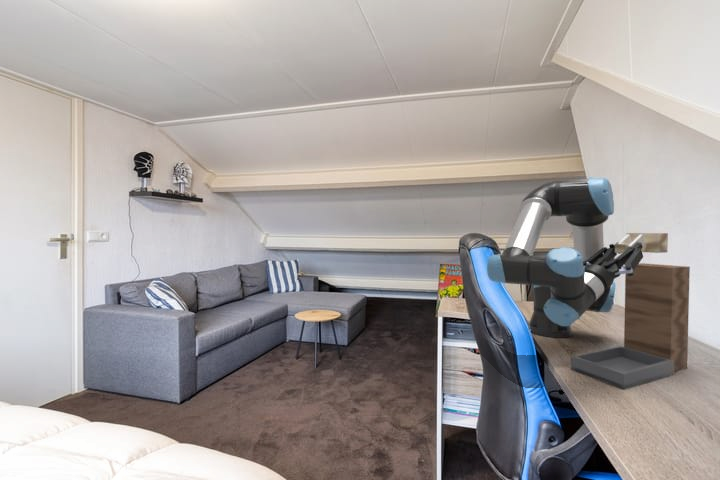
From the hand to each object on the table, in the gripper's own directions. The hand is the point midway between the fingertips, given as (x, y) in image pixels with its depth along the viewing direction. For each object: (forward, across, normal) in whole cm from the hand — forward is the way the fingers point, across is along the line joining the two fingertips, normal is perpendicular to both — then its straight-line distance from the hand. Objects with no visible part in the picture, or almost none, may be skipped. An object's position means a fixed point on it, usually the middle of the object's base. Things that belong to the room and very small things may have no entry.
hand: (636, 238), depth 100 cm
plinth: (-9, 0, -39) cm, 40 cm away
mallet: (-2, 0, -3) cm, 4 cm away
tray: (-24, 0, -30) cm, 39 cm away
